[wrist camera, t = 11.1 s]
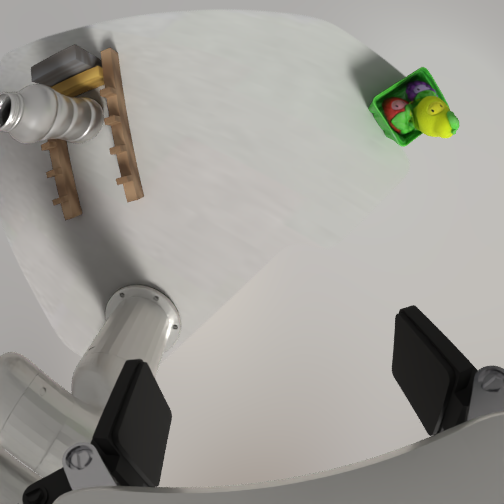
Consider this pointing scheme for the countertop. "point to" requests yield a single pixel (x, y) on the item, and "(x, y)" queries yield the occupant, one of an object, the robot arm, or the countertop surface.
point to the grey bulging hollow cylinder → (49, 115)
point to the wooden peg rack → (87, 78)
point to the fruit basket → (414, 109)
